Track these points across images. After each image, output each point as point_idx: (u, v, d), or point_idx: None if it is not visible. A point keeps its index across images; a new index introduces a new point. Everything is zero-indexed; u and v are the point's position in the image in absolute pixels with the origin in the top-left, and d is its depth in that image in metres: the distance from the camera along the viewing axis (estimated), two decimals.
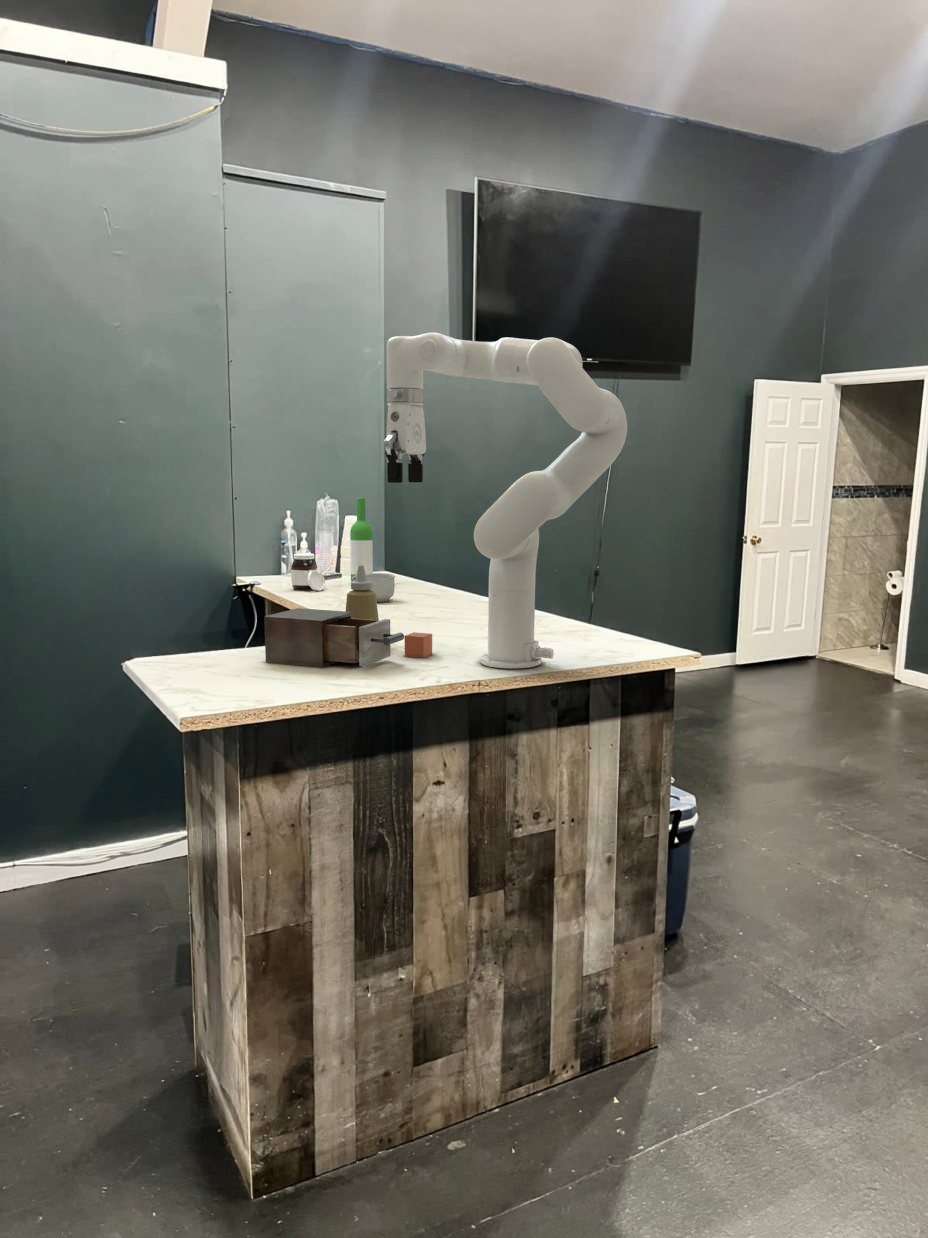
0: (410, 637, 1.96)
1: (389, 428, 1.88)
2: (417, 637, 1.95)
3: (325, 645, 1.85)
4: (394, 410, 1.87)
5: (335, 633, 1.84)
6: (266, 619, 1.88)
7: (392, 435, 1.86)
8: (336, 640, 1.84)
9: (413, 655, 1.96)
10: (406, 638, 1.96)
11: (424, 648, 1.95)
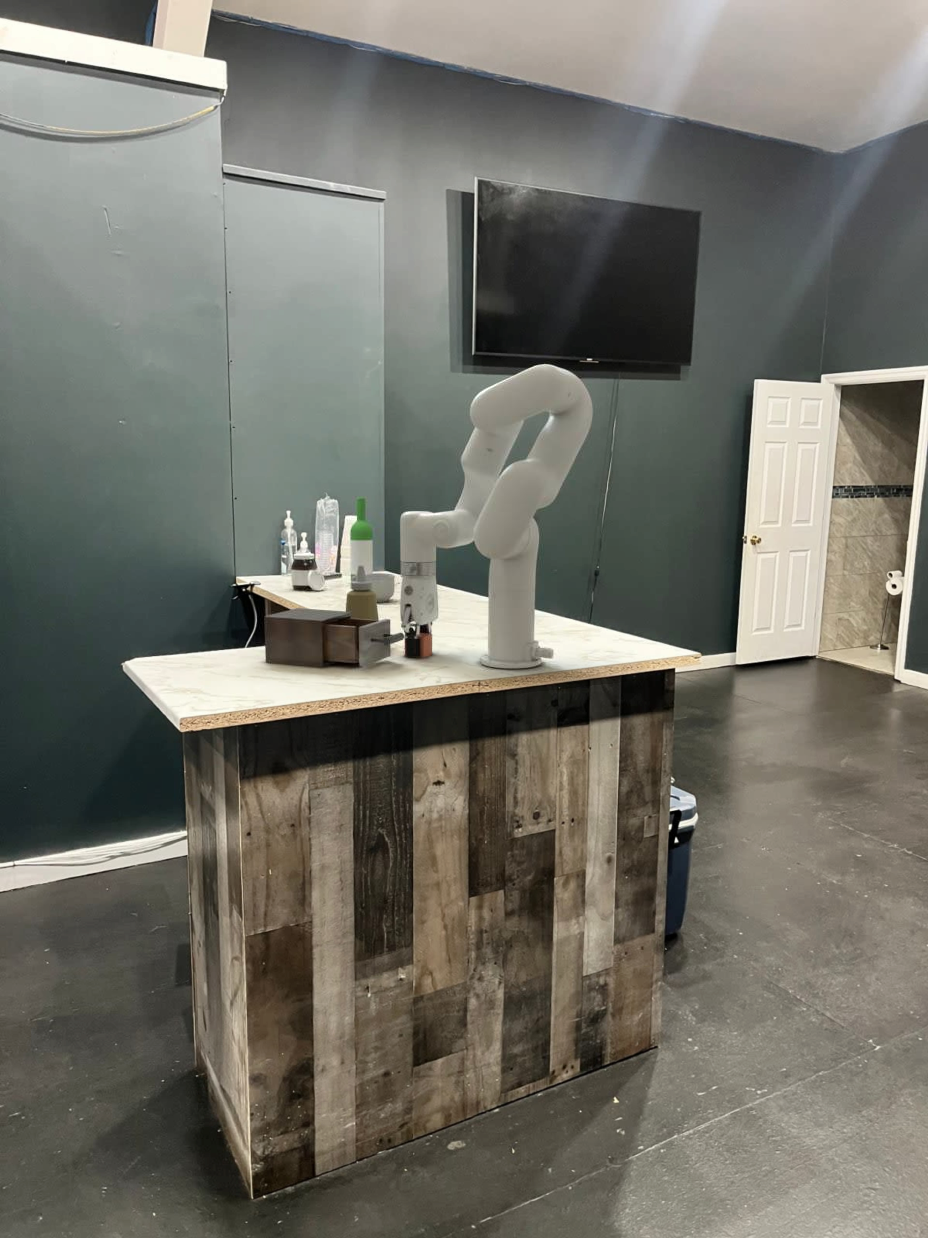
0: None
1: (403, 601, 1.92)
2: None
3: (325, 645, 1.85)
4: (408, 584, 1.91)
5: (335, 633, 1.84)
6: (266, 619, 1.88)
7: (407, 615, 1.91)
8: (336, 640, 1.84)
9: None
10: None
11: (424, 648, 1.95)
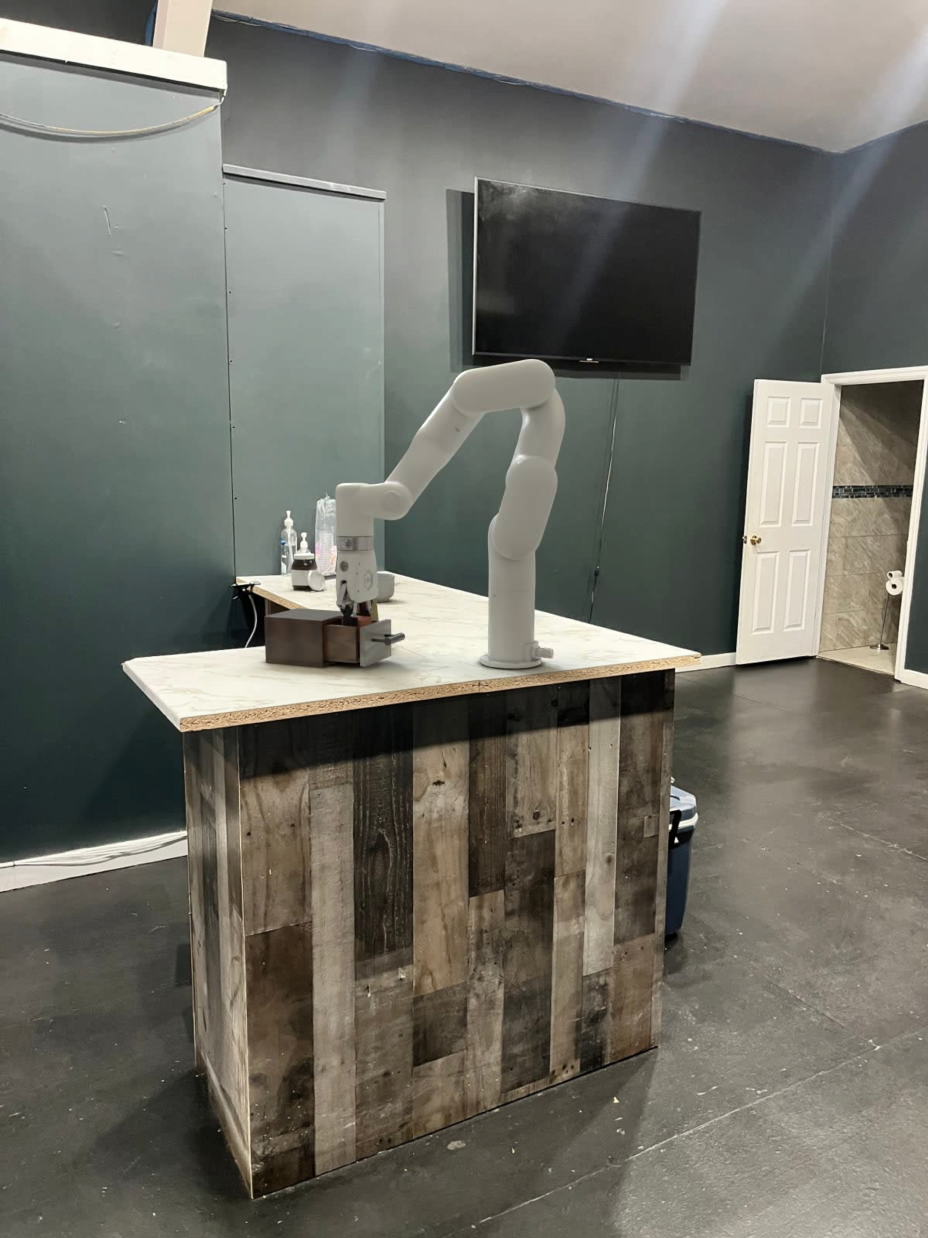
0: None
1: (338, 578, 1.82)
2: None
3: (326, 645, 1.85)
4: (343, 559, 1.81)
5: (336, 633, 1.84)
6: (266, 619, 1.88)
7: (343, 592, 1.81)
8: (337, 640, 1.84)
9: None
10: None
11: None
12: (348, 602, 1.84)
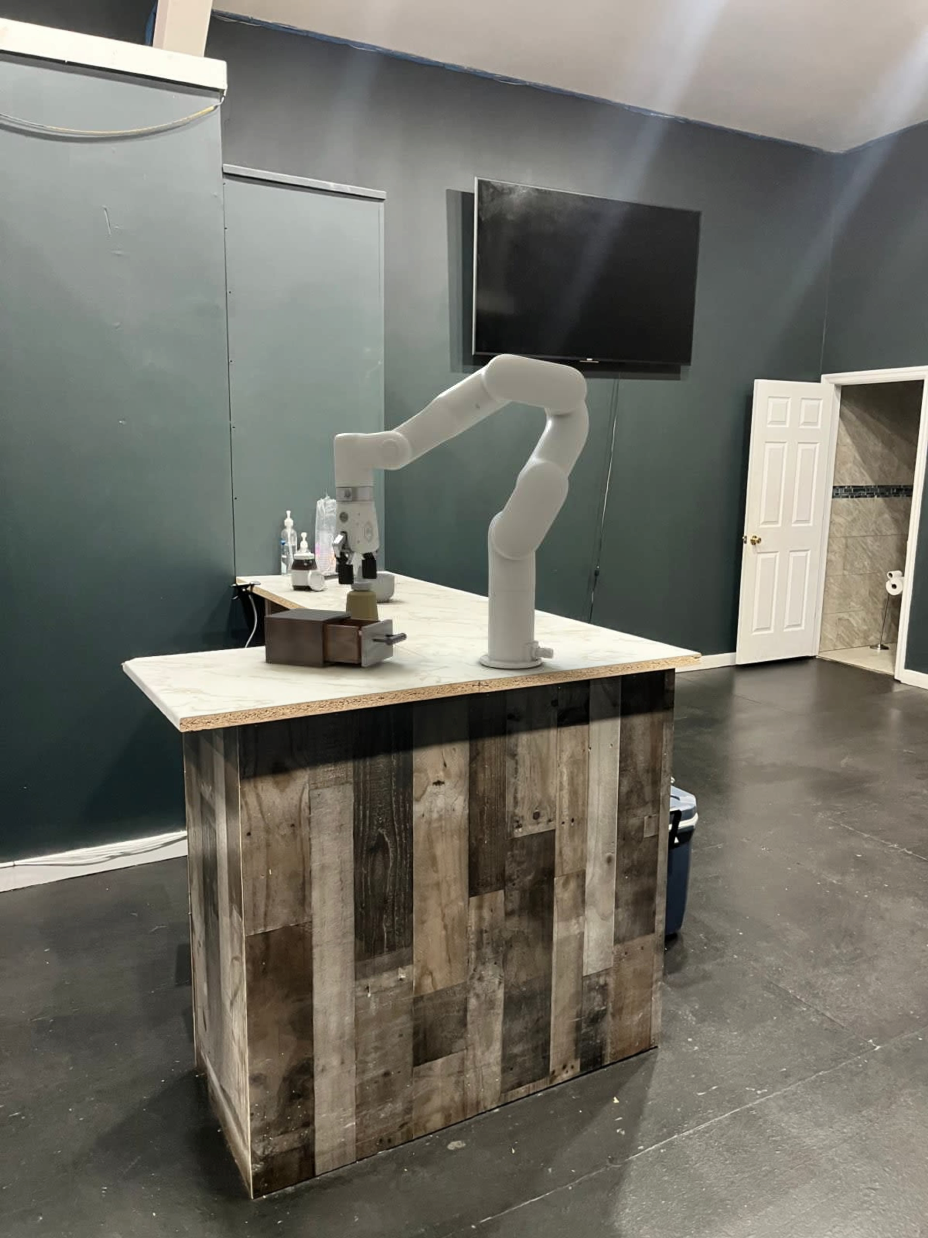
0: None
1: (338, 529, 1.81)
2: None
3: (327, 645, 1.85)
4: (343, 510, 1.80)
5: (337, 633, 1.84)
6: (266, 619, 1.88)
7: (341, 537, 1.79)
8: (338, 640, 1.84)
9: None
10: None
11: None
12: (345, 550, 1.81)
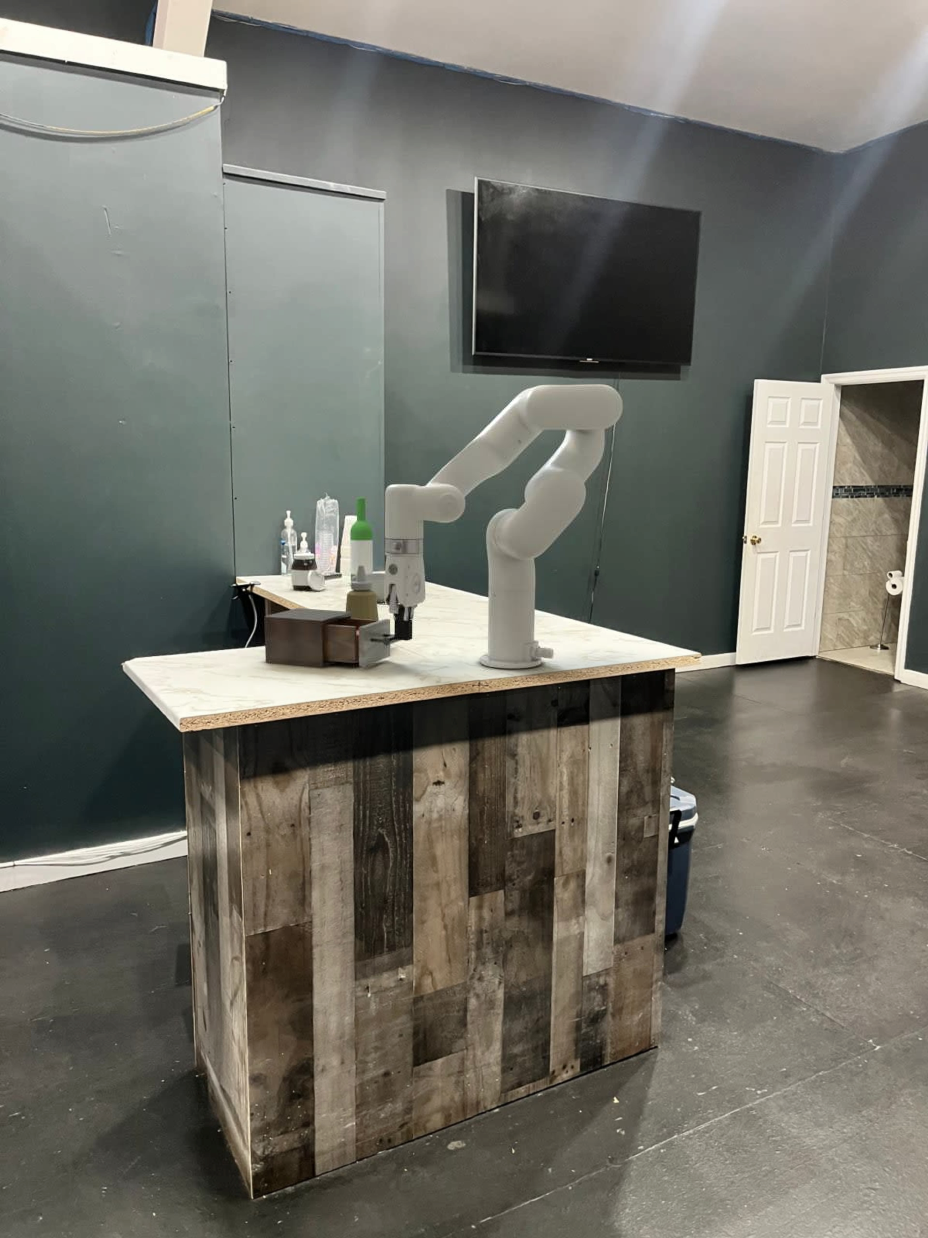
0: None
1: (387, 581, 1.78)
2: None
3: (325, 645, 1.85)
4: (393, 562, 1.77)
5: (335, 633, 1.84)
6: (266, 619, 1.88)
7: (394, 599, 1.78)
8: (336, 640, 1.84)
9: None
10: None
11: None
12: (399, 607, 1.81)
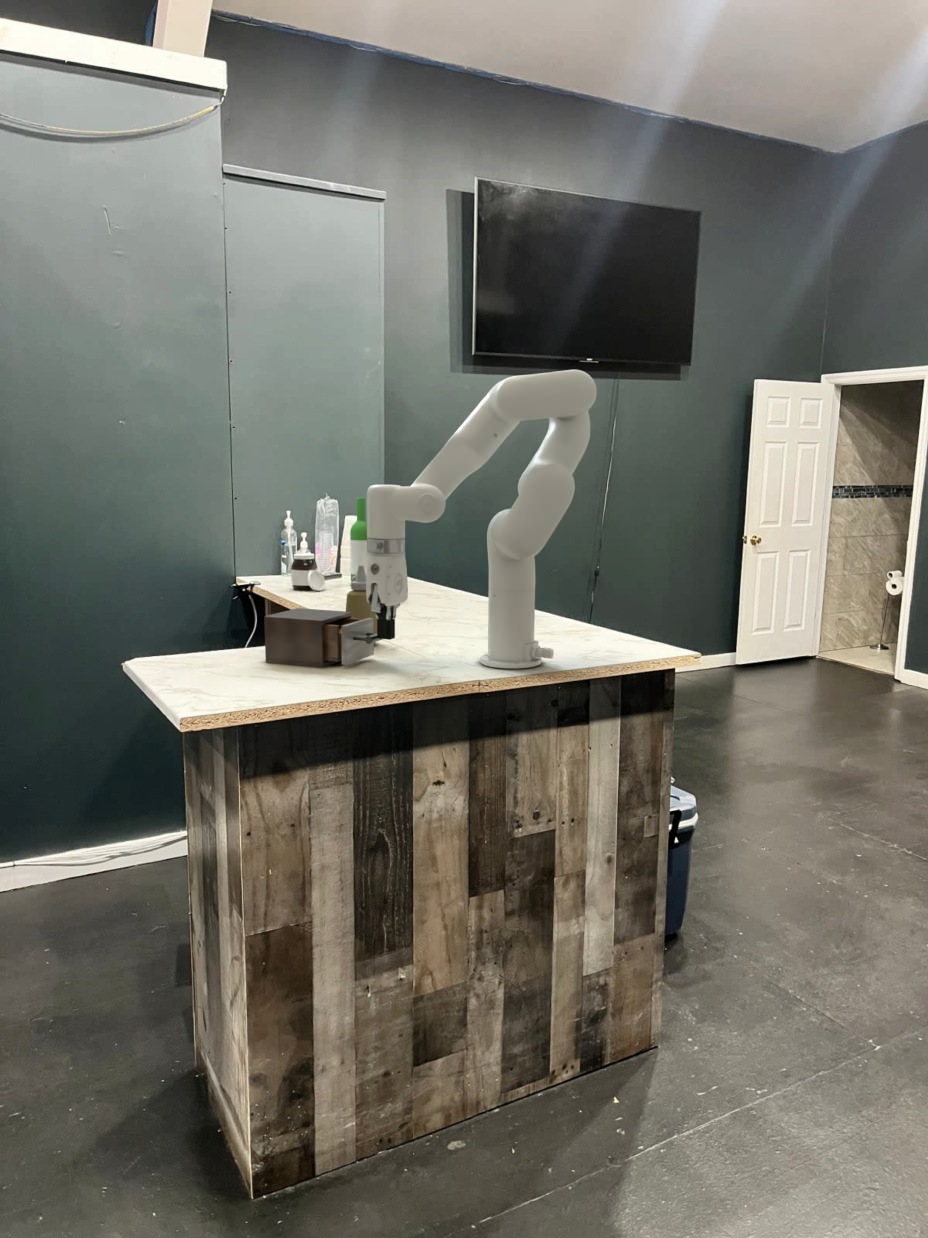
0: None
1: (369, 580, 1.79)
2: None
3: None
4: (375, 562, 1.79)
5: None
6: (266, 619, 1.88)
7: (376, 598, 1.80)
8: None
9: None
10: None
11: None
12: (381, 606, 1.82)
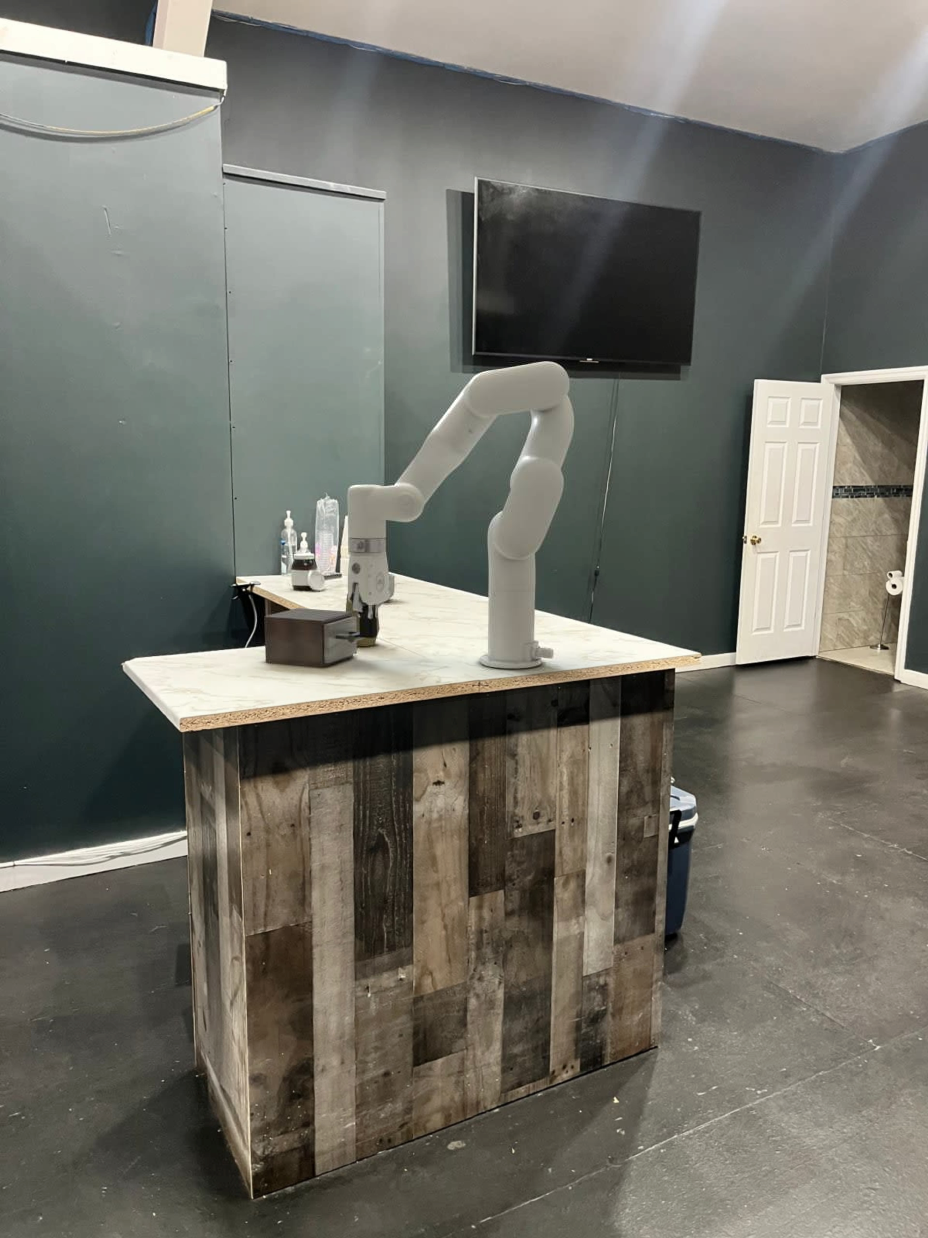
0: None
1: (350, 580, 1.81)
2: None
3: None
4: (356, 561, 1.80)
5: None
6: (266, 619, 1.88)
7: (357, 597, 1.81)
8: None
9: None
10: None
11: None
12: (363, 605, 1.84)
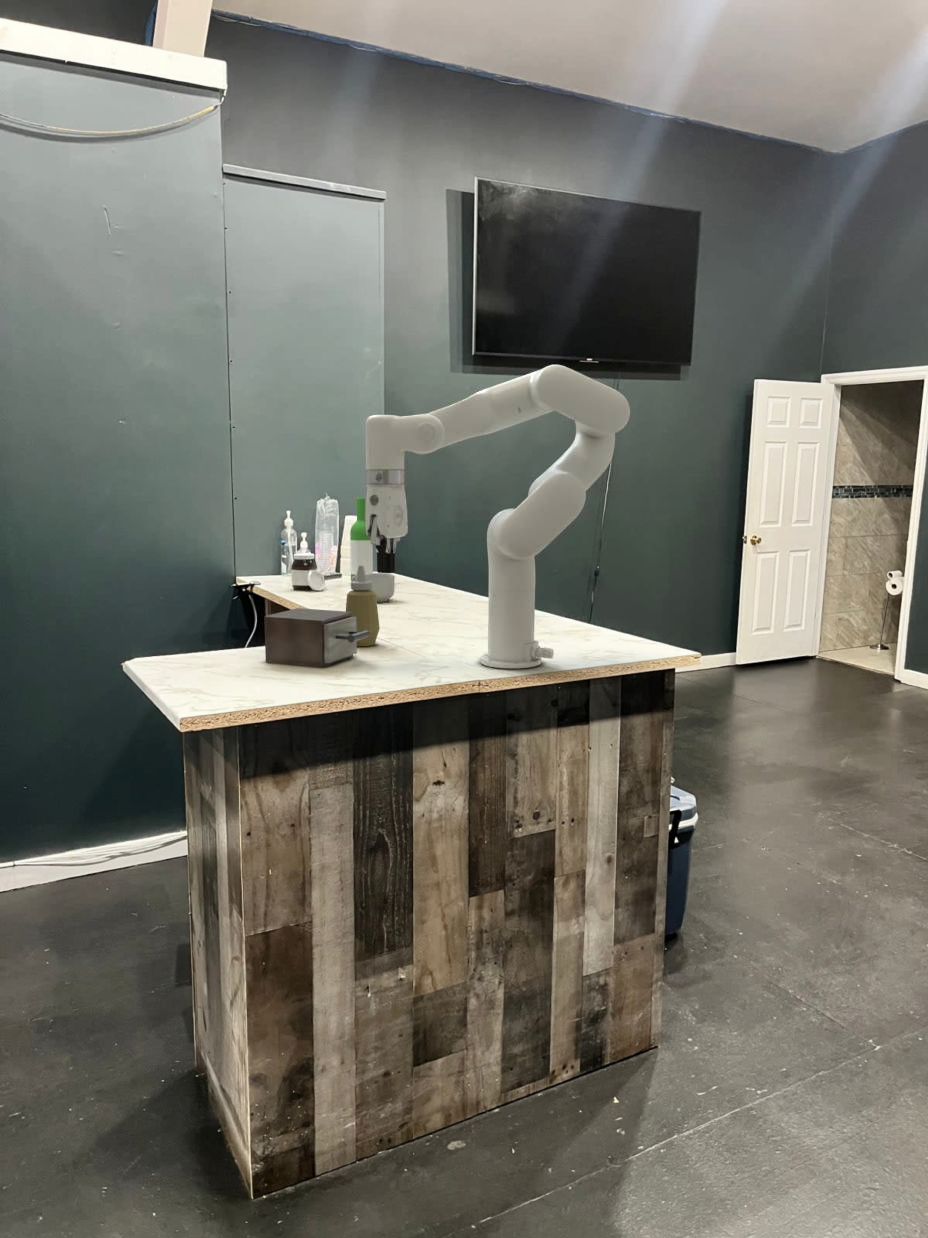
0: None
1: (368, 512, 1.78)
2: None
3: None
4: (374, 493, 1.77)
5: None
6: (266, 619, 1.88)
7: (375, 530, 1.78)
8: None
9: None
10: None
11: None
12: (381, 539, 1.80)
